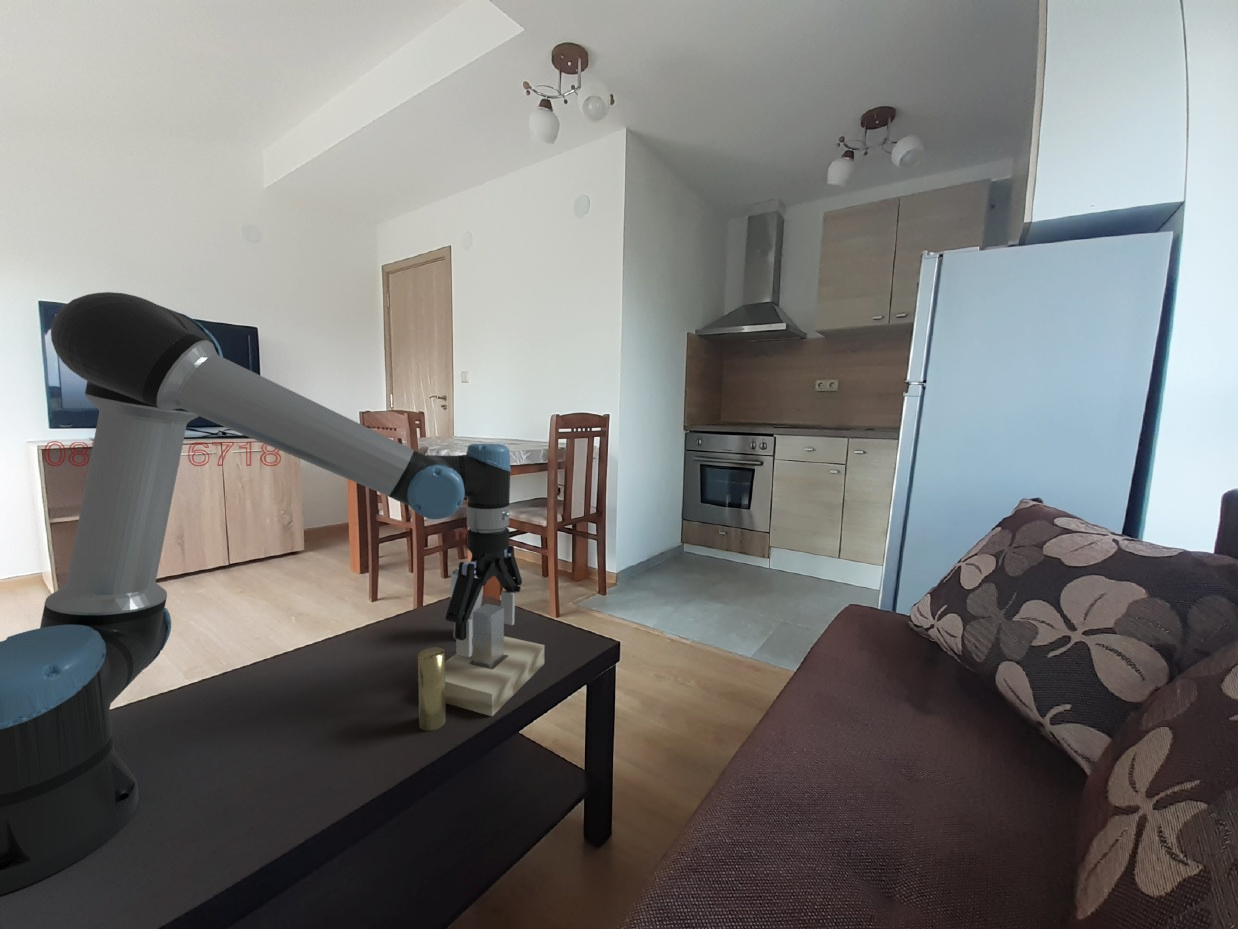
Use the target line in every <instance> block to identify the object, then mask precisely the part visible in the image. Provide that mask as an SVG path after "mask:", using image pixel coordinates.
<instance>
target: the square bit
mask: <svg viewBox="0 0 1238 929" xmlns="http://www.w3.org/2000/svg"><path fill="white" fill-rule="evenodd" d="M504 634H505V624H504V607H501V605H495V604H491V603H484V604H483V605H481V607H480V608H478V609H477V610H475V611H473V640H472V642H473V665H476V666H480V667H484V668H488V669H492V670H493V669H494V668H495V667H496V666H497V665H499V664H500V663H501V662H502V661H503V660H504V636H505V635H504Z"/></svg>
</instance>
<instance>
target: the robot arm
mask: <svg viewBox="0 0 1238 929" xmlns="http://www.w3.org/2000/svg"><path fill="white" fill-rule="evenodd" d="M50 327H51V329H50V337H51V343H52V346H53V348H54V351H55V353H56V355H57V356H58V357H59V359H60V360H61V362H62V363H63V364H64V365H65V366H66V367H67V368H68V369H69V370H70V371H71V372H73V373H74V374H76V375H77V376H79V377H80V378H82V379H83V380H85V381H86V387H85V391H84V396H85V397H86V399H88V400H89V401H90V402H91V403H92V404H93V405H94V406H95V407H96V408H97V410H98V411H99V413H98V416H97V422H96V428H95V433H94V437H93V443H92V450H91V455H90V458H89V464H88V469H87V474H86V480H85V485H84V490H83V496H82V501H81V506H80V512H79V516H78V520H77V525H76V526H77V527H76V532H75V538H74V542H73V547H72V553H71V558H70V563H69V569H68V573H67V574H68V575H67V579H66V582H65V583H66V584H65V585H64V586H62V587H61V588H59V589H57V590H56V591H54V592H52V593H51V594H49V595H48V596H46V598H45V601H44V605H43V611H42V616H41V620H40V621H41V622H40V627H39V628H35V629H31V630H27V631H23V632H19V633H17V634H12V635H9V636H7V637H6V638H5V640H2V641H0V896H2V895H5V894H8V893H11V892H13V891H14V892H15V891H18V890H19V889H22V888H25V887H27V886H30V885H33V884H34V883H37V882H40V881H41V880H43V879H46V878H48V877H50V876H53V875H54V874H56V873H58V872H60V871H62V870H64V869H66V868H67V867H69V866H71V865H73V864H74V863H77V862H78V861H80V860H81V859H83V858H84V857H86V856H87V855H89V854H91V853H92V852H93V851H95V850H97V849H98V848H99V847H101V846H102V845H103V844H104V843H106V842H107V841H109V840H110V839H111V838H113V836H114V835H116V834H117V833H118V832H119V831H120V830H121V829H122V828H123V827H124V826H125V825H126V824H127V823H128V822H129V820H130V819H131V818H132V816H133V815H134V814H135V811H136V810H137V808H138V805H139V801H140V800H139V789H138V788H139V786H138V782H137V779H136V777H135V776H134V774H133V773H132V772H131V770H130V769H129V767H128V766H127V764H126V763H125V762H124V761H123V760H122V758H121V757H120V755H119V754H118V752H117V751H116V750H115V748H114V743H113V733H112V720H111V704H112V703H113V702H114V701H115V700H116V699H117V698H118V697H119V696H120V694H122V693H123V691H125V689H127V687H128V686H129V685H130V684H131V683H132V682H134V681H135V679H136V678H137V677H138V676H139V675H140V674H141V673H142V672H143V671H144V670H145V669H147V668H148V667H149V666H150V665H152V663H153V662H154V661H155V660H156V659H157V658H158V657H159V655H160V654H161V651H163V649H164V647H165V646H166V643H167V641H168V639H169V637H170V635H171V630H172V618H171V614H170V612H169V609H168V608H167V607H166V603H167V598H168V591H167V590H166V589H165V588H163V587H162V586H161V585H159V584H158V583H157V579H158V578H157V577H158V574H159V573H158V572H159V568H160V567H159V566H160V564H161V563H160V562H161V557H162V551H163V547H164V541H165V536H166V532H167V526H168V522H169V516H170V512H171V506H172V501H173V495H174V491H175V486H176V480H177V476H178V470H179V464H180V460H181V455H182V451H183V450H182V449H183V446H184V441H185V436H186V430H187V425H188V424H189V423H190V422H191V421H193V420H195V419H196V418H199V417H201V418H203V419H205V420H207V421H210V422H212V423H214V424H217V425H219V426H222V427H225V428H227V429H229V430H232V431H234V432H235V433H238V434H240V435H243V436H246V437H248V438H251V439H252V440H255V441H257V442H260V443H262V444H264V445H266V446H269V447H271V448H274V449H276V450H279V451H281V452H283V453H286V454H288V455H290V456H293V457H295V458H297V459H300V460H303V461H305V462H307V463H309V464H311V465H315V466H316V467H318V468H321V469H323V470H326V471H328V472H331V473H333V474H334V475H338V476H340V477H343V478H345V479H347V480H350V481H352V482H355V483H356V484H359V485H361V486H363V487H366V488H369V489H370V490H372V491H376V492H377V493H381V494H382V495H385V496H387V497H388V498H391V499H393V500H395V501H397V502H399V503H402V504H405V505H407V506H409V507H410V508H411V509H412V510H413V511H414V512H416V514H418V515H419V516H421V517H423V518H426V519H430V520H442V519H445V518H448V517H450V516H452V515H454V513H456V512H457V511H458V510H459V509H460V507H461V506H462V505H463V502H464V500H465V498H467V501H466V504H467V505H466V526H467V527H468V530H467V532H466V548H467V550H468V551H469V552H470V553H471V558H470V561H469V562H465V561H460V562H459V564H458V568H459V569H458V577H457V580H456V584H455V587H454V591H453V594H452V597H451V596H450V600H449V604H448V608H447V612H446V616H445V620H446V622H448V621H449V622H452V623H454V626H455V638H456V642H455V643H456V644H455V645H456V647H455V650H456V651H455V652H456V653H455V654H458V655H462V656H466V657H470V656H472V642H473V640H472V620H471V619H469V617H470V615H471V612H472V610H473V608H474V605H475V603H476V600H477V598H478V596H479V593H480V591H481V589H482V586H483V587H484V586H485V585H486V584H487V583H488V581H489V580H491V579H492V577H495V579H496V580H497V581H498V582H499V584H500V585H501V586H502V588H503V590H502V591H501V592H500V593H501V594H500V606H501V607H504V625H509V626H513V625H515V609H516V608H515V606H516V605H515V604H516V593H519V592H521V585H522V583H523V580H522V577H521V573H520V569H519V567H518V563H517V560H516V557H515V547H514V545H511V544H510V529H509V526H510V516H511V514H510V493H511V492H510V491H511V490H510V489H511V472H512V469H511V458H510V457H511V453H510V449H509V447H508V446H506V445H505V444H500V443H471V444H469V445H468V446H467V450H466V454H462V455H459V454H458V455H443V454H442V455H437V454H436V455H434V454H433V455H430V454H429V455H428V454H426V455H425V454H423V453H421V452H418V451H416V450H414V449H412V448H410V447H409V446H407V445H404V444H403V443H400V442H398V441H397V440H394V439H392V438H390V437H388V436H386V435H384V434H382V433H380V432H378V431H376V430H373V429H371V428H370V427H367V426H365V425H363V424H361V423H359V422H357V421H355V420H353V419H352V418H351V419H350V418H349V417H347V416H345V415H343V414H340V413H338V412H336V411H335V410H332V409H330V408H328V407H326V406H323V404H320V403H317V402H316V401H314V400H312V399H309V398H307V397H305V396H303V395H302V394H299V393H298V392H295V391H292V390H290V389H289V388H286V387H284V386H283V385H280V384H278V383H277V382H275V381H272V380H271V379H268V378H266V377H264V376H263V375H260V374H258V373H257V372H254V371H252V370H250V369H247V368H245V367H243V366H241V365H239V364H237V363H235V362H233V361H231V360H229V359H227V358H225V357H224V356H223V351H222V349H221V346H220V344H219V343H218V341H217V339H216V338H215V337H214V336H213V334H212V333H211V332H210V331H209V330H207V329H206V328H205V327H204V326H203V325H202V324H201V323H199V322H198V321H196V320H195V319H193V318H191V317H190V316H188V315H186V314H185V313H180V312H178V311H174V310H172V309H170V308H168V307H165V306H161V305H159V304H156V303H154V302H152V301H150V300H148V299H145V298H143V297H140V296H137V295H133V294H127V293H123V292H112V291H104V292H95V293H94V292H93V293H89V294H85V295H82V296H79V297H77V298H74V299H71V301H68V303H66V304H65V305H64V306H62V307H61V308H60V309H59V311H58V312H57V313H56V315H55V316H54V319H53V321H52V323H51V325H50ZM475 575H476V577H477V578H474V577H475Z"/></svg>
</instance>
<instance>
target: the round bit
mask: <svg viewBox="0 0 1238 929" xmlns="http://www.w3.org/2000/svg"><path fill="white" fill-rule="evenodd" d="M445 654H446V651H445V649H444V648H442V647H437V646H434V647H428V648H425V649H423V650H421V651H420V652H418V654H417V669H418V670H417V671H418V672H417V673H418V674H417V675H418V678H417V680H418V720H419V721H418V723H419V724H418V726H419V729H420V730H421V731H425V732H432V731H436V730H439V729H440V728H442V727H443V726H444V725H445V723H446V703H445V661H446V656H445Z"/></svg>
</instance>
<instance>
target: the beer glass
mask: <svg viewBox="0 0 1238 929" xmlns="http://www.w3.org/2000/svg"><path fill="white" fill-rule="evenodd" d="M458 569H459V567H458V568H455V569H453V570H451V573H450V588H449V589H450V590H449V591H450V592H449V593H450V598H451V597H452V594H453V591H454V587H455V584H456V580H457V577H458ZM474 578H477V577H476V575H475V577H474ZM483 594H484V586H482V589H481V591H480V593H479V596H478V598H477V600H476V603H475V605H474V608H473V610H472V612H471V615H470V617H469V619H471V620H472V641H473V611H475V610H477V609H478V608H480V607H481V606H482V602H483V596H484V595H483ZM452 633H453V634H452V637H453V639H454V641H455V640H456V638H455V625H454V628H453V632H452Z"/></svg>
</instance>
